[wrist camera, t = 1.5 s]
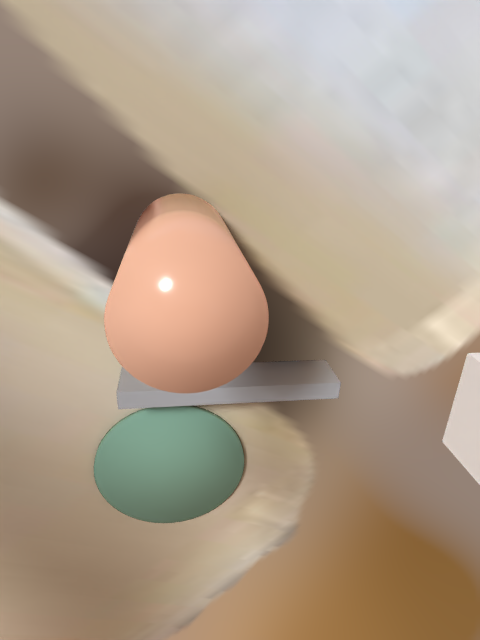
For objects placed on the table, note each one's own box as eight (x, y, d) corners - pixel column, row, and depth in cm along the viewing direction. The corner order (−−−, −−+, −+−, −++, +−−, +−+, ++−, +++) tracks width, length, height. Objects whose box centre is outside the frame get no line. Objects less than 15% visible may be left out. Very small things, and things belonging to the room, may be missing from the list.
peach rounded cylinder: (136, 285, 26) (111, 396, 15) (131, 192, 24) (96, 243, 13) (226, 284, 27) (263, 390, 16) (229, 194, 24) (274, 245, 14)
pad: (101, 524, 33) (100, 529, 33) (87, 408, 29) (86, 411, 28) (240, 512, 35) (241, 516, 34) (246, 400, 30) (247, 403, 30)
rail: (123, 382, 28) (117, 409, 26) (122, 367, 28) (116, 392, 25) (323, 374, 30) (338, 398, 28) (325, 359, 30) (340, 382, 27)
